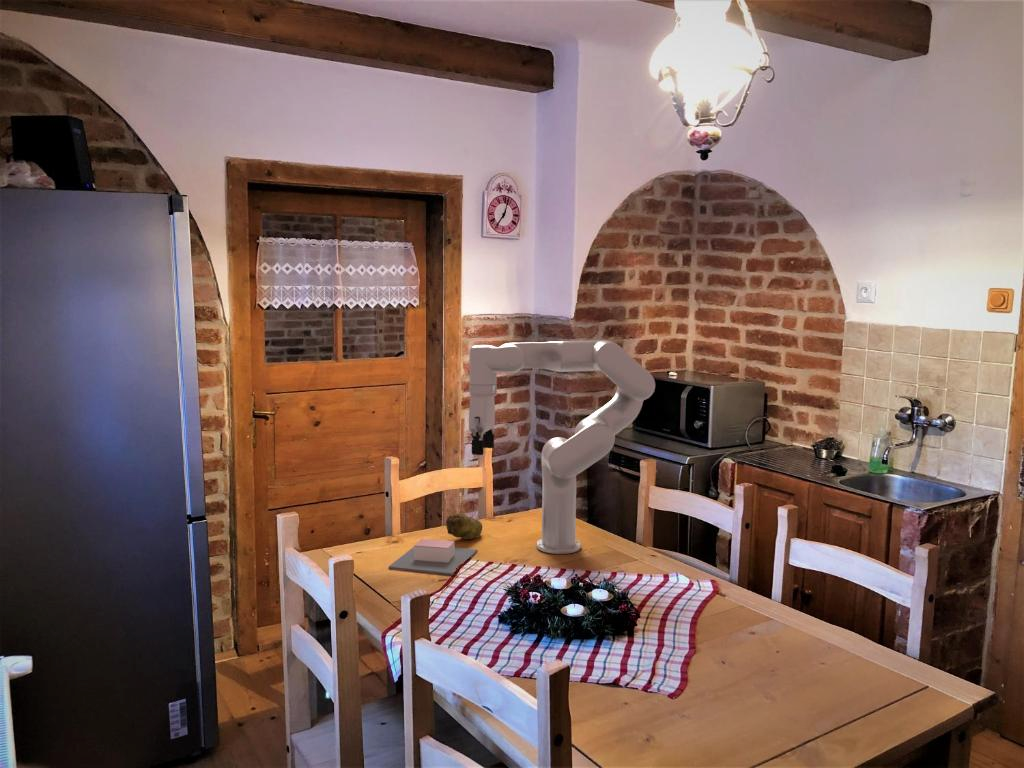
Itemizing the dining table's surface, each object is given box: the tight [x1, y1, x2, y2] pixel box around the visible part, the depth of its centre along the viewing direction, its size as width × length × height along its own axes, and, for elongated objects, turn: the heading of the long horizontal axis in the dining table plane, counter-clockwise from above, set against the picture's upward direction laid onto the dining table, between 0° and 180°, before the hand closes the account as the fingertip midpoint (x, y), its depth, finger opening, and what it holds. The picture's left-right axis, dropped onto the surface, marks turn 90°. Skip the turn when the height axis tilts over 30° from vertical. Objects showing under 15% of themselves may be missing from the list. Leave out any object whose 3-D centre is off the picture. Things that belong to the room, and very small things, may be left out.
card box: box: [413, 538, 456, 563], centre depth 224 cm, size 10×6×4 cm, turn 78°
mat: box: [388, 546, 478, 576], centre depth 224 cm, size 20×18×1 cm
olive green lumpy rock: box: [445, 513, 483, 540], centre depth 242 cm, size 8×13×8 cm, turn 122°
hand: (483, 451), depth 229 cm, fingers open, 9 cm apart
